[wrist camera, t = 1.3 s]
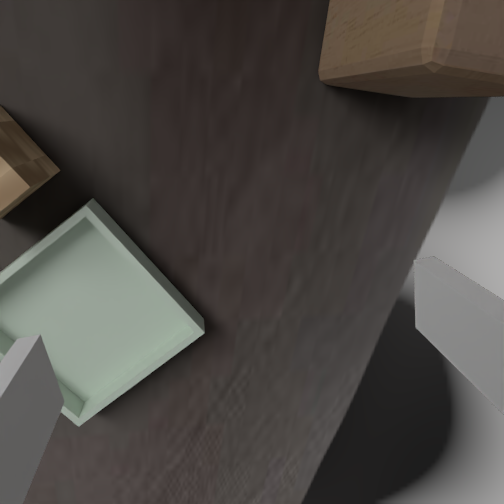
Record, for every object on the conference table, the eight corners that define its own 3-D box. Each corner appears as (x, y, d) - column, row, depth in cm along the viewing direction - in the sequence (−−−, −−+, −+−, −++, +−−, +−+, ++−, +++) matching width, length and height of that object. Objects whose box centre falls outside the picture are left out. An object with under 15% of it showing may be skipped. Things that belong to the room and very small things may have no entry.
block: (416, 99, 41) (605, 98, 23) (313, 83, 40) (425, 68, 21) (444, -23, 38) (690, -140, 20) (334, -45, 37) (487, -197, 18)
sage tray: (-38, 301, 42) (-54, 316, 39) (93, 197, 40) (85, 205, 37) (85, 407, 47) (78, 426, 44) (203, 318, 46) (204, 332, 43)
